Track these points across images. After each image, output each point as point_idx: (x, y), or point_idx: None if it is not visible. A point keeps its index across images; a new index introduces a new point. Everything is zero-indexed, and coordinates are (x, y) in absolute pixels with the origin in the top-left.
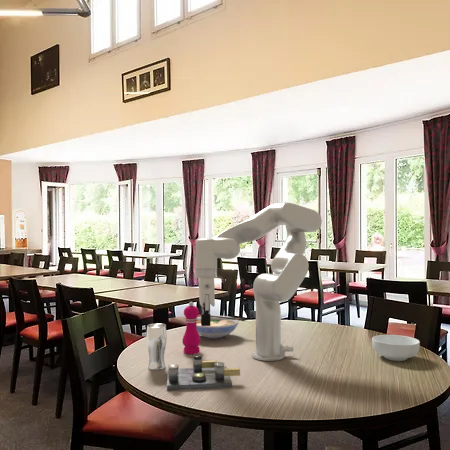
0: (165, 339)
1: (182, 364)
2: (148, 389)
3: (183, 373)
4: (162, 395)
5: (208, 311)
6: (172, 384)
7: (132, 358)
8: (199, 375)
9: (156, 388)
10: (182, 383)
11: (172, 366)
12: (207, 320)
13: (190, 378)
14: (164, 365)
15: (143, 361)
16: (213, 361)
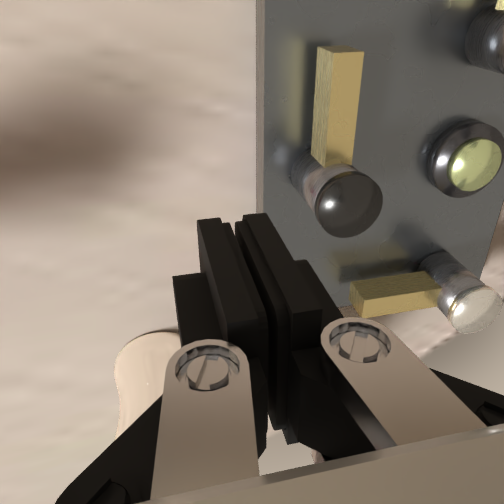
0: None
1: (97, 258)
2: (426, 334)
3: (349, 240)
4: (501, 280)
5: (484, 392)
6: (476, 267)
7: (5, 484)
8: (493, 163)
9: (426, 312)
10: (481, 229)
11: (492, 314)
12: (316, 290)
13: (431, 200)
14: (171, 342)
15: (53, 435)
16: (353, 80)
